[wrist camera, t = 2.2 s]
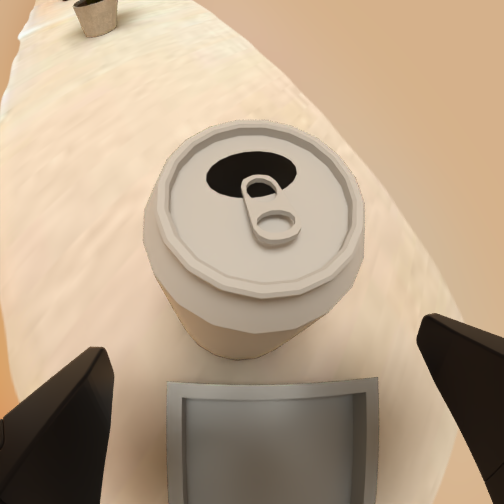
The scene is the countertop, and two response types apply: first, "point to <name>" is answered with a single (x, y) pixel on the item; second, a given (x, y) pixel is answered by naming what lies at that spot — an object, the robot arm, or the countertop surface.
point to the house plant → (96, 16)
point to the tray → (273, 443)
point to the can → (253, 234)
